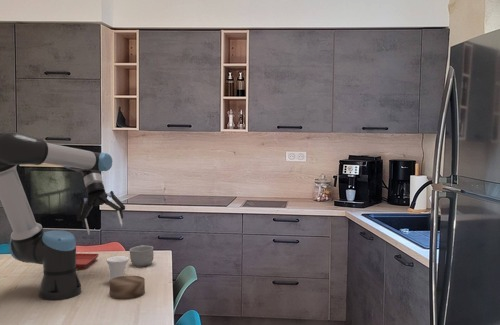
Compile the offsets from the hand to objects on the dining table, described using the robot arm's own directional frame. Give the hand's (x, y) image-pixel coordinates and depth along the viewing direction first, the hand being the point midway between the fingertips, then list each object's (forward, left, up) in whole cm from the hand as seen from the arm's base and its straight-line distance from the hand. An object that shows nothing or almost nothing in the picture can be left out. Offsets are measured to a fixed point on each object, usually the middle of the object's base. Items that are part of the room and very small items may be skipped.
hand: (105, 229), depth 211 cm
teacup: (+23, +7, -21) cm, 31 cm away
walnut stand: (-5, -24, -20) cm, 32 cm away
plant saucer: (0, +29, -21) cm, 35 cm away
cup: (0, -9, -21) cm, 23 cm away
